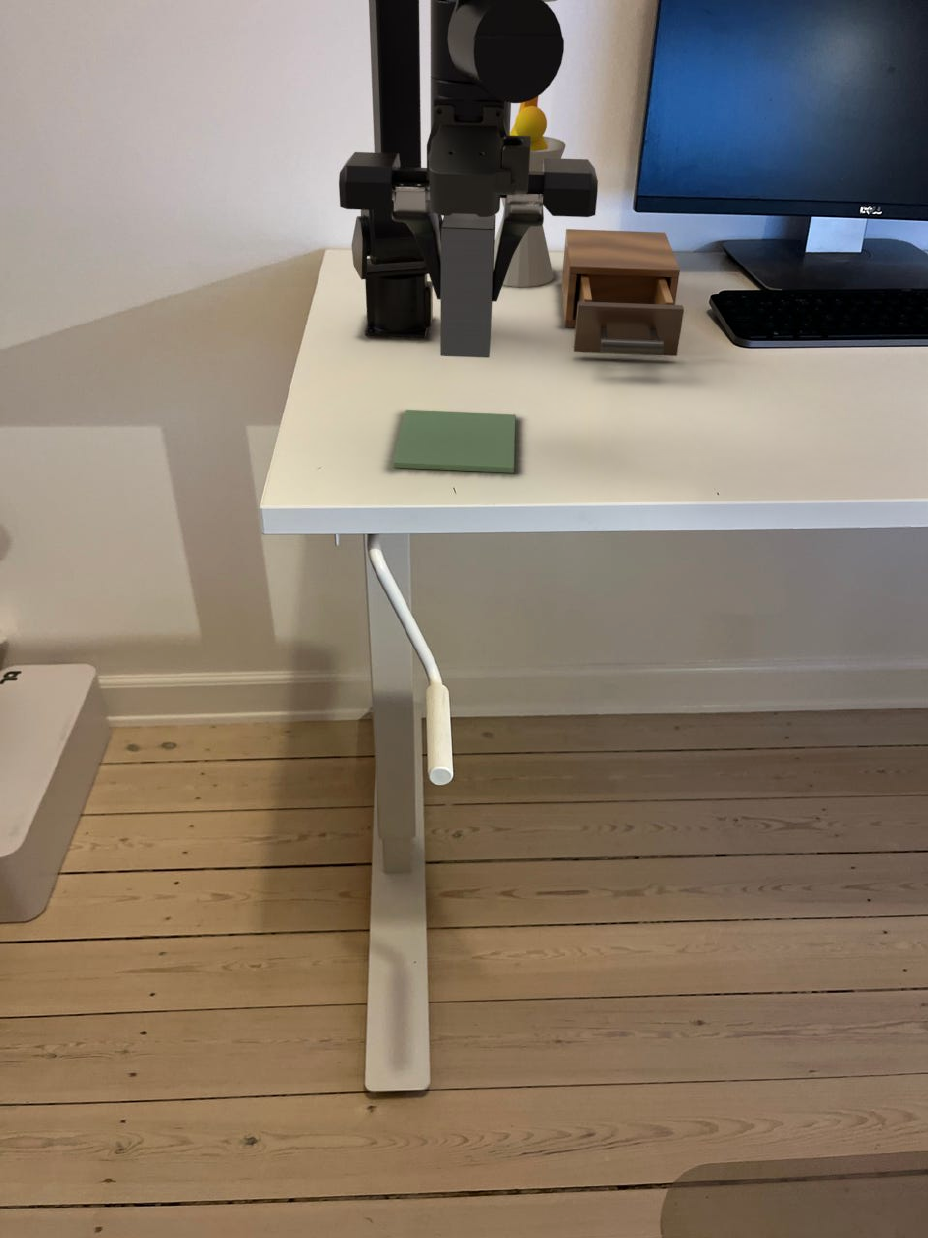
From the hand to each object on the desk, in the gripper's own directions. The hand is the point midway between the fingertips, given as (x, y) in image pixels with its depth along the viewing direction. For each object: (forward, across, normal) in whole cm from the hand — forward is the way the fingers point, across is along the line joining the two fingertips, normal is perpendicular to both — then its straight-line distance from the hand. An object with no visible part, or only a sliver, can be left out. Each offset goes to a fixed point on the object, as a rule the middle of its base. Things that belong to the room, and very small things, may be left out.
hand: (466, 298), depth 77 cm
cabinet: (+12, +16, +34) cm, 39 cm away
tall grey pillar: (+4, 0, 0) cm, 4 cm away
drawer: (+11, +15, +22) cm, 29 cm away
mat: (+12, -1, -1) cm, 12 cm away
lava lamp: (+12, +5, +44) cm, 46 cm away
